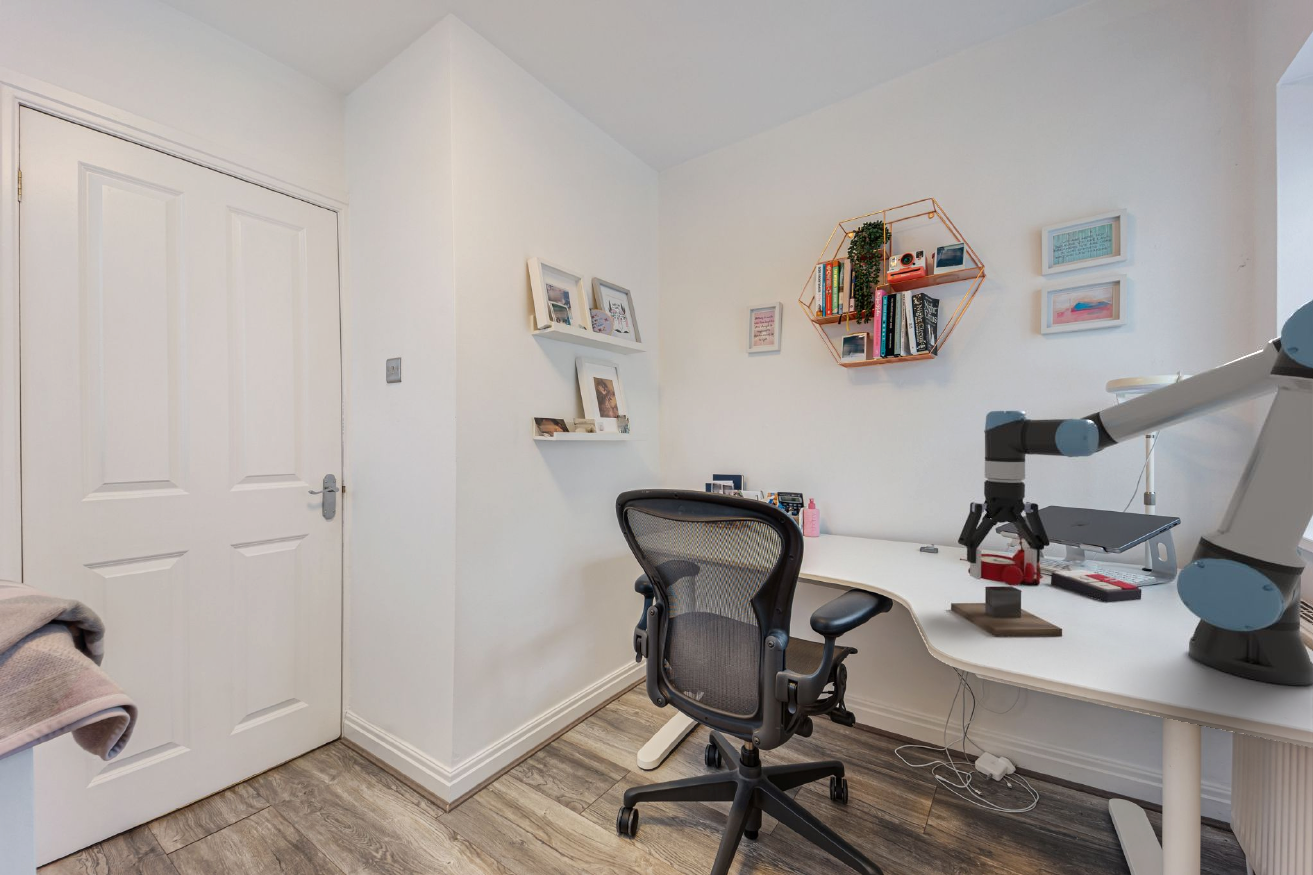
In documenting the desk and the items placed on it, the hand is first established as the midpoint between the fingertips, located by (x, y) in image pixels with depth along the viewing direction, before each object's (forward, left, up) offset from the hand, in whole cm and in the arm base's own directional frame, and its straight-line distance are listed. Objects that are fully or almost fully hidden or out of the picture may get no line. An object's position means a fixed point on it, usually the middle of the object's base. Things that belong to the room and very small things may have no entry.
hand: (1002, 577), depth 116 cm
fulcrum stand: (0, 0, -10) cm, 10 cm away
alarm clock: (0, 0, -1) cm, 1 cm away
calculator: (+20, -38, -11) cm, 45 cm away
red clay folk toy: (+29, -26, -10) cm, 40 cm away
